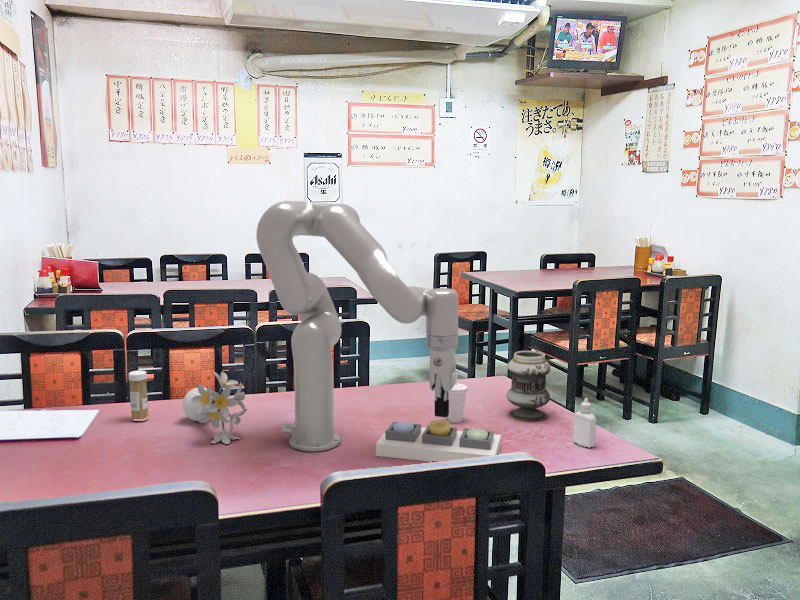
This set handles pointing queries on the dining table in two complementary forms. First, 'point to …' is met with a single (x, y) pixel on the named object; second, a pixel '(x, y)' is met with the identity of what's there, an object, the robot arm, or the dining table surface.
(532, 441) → the dining table surface
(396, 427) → the blue button
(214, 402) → the flower vase
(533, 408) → the apothecary jar
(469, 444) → the button panel
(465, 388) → the smoothie
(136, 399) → the sprinkles bottle
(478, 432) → the sage button
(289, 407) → the dining table surface
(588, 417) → the eye dropper bottle
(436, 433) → the mustard button
